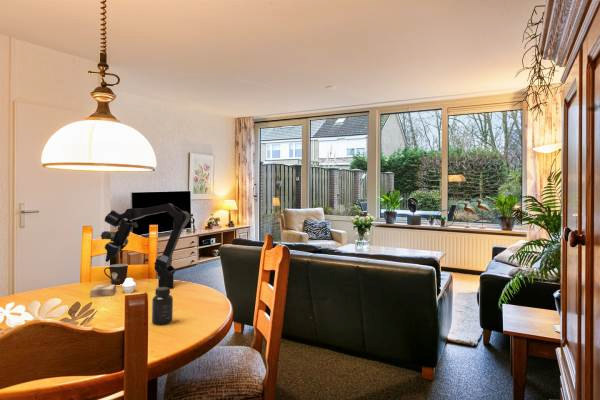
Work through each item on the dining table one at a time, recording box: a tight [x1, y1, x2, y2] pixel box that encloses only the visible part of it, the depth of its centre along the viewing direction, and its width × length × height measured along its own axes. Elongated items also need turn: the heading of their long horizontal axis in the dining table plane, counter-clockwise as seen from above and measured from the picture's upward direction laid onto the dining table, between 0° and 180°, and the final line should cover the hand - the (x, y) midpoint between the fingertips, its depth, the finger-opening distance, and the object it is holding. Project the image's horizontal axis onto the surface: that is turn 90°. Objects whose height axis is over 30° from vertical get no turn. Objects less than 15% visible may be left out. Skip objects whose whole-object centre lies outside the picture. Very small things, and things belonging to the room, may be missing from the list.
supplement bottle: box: [151, 287, 174, 326], centre depth 127 cm, size 7×7×12 cm
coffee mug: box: [103, 263, 129, 285], centre depth 185 cm, size 12×9×10 cm
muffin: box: [121, 277, 137, 294], centre depth 169 cm, size 6×6×7 cm
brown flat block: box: [90, 284, 117, 298], centre depth 165 cm, size 9×9×3 cm
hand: (109, 259), depth 180 cm, fingers open, 9 cm apart
